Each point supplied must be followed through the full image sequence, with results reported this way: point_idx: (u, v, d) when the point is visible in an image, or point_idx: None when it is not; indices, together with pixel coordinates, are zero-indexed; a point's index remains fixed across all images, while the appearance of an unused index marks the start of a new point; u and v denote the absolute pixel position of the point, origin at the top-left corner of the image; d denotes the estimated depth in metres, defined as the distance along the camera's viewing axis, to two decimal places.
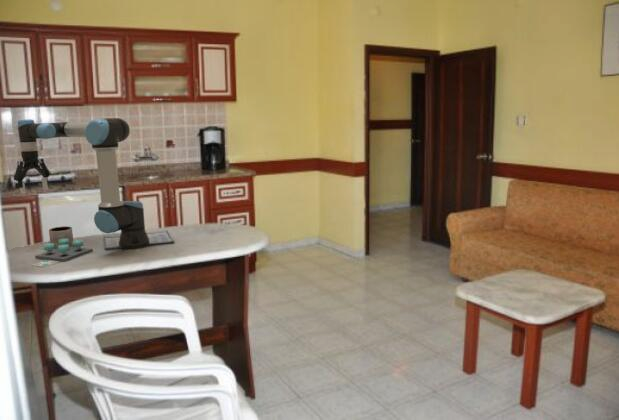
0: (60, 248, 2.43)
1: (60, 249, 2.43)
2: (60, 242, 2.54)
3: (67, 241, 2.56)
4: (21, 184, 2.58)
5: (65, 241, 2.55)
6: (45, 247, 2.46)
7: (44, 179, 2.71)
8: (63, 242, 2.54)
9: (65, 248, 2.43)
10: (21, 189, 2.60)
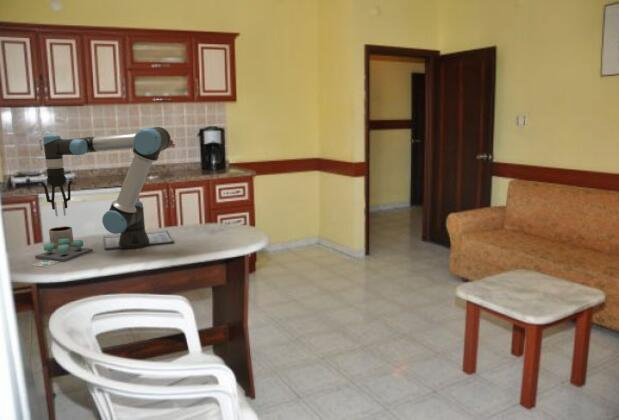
0: (60, 248, 2.43)
1: (60, 249, 2.43)
2: (60, 242, 2.54)
3: (67, 241, 2.56)
4: (53, 206, 2.51)
5: (65, 241, 2.55)
6: (45, 247, 2.46)
7: None
8: (63, 242, 2.54)
9: (65, 248, 2.43)
10: (55, 211, 2.53)
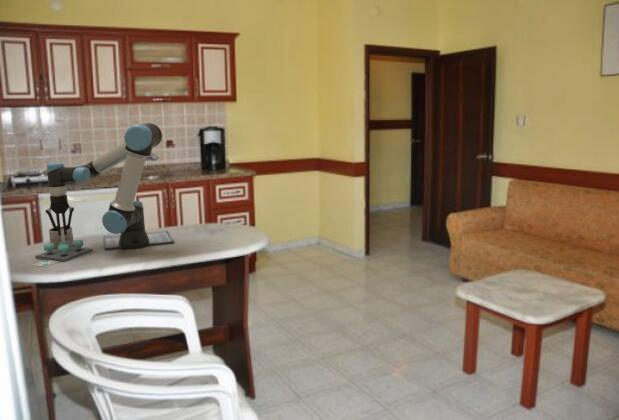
0: (60, 248, 2.43)
1: (60, 249, 2.43)
2: None
3: (67, 244, 2.56)
4: (59, 232, 2.54)
5: None
6: (45, 247, 2.46)
7: None
8: None
9: (65, 248, 2.43)
10: (61, 237, 2.56)
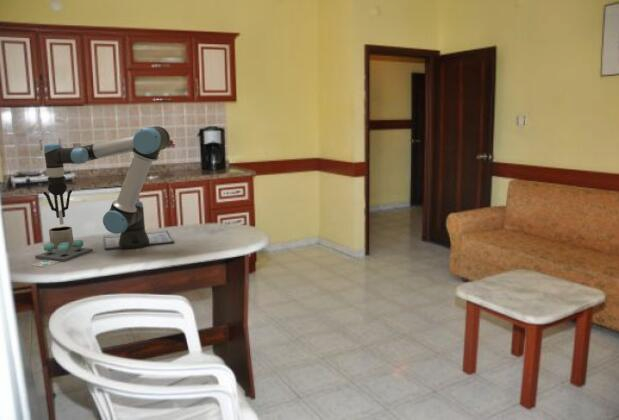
0: (60, 248, 2.43)
1: (60, 249, 2.43)
2: None
3: None
4: (57, 214, 2.52)
5: None
6: (45, 247, 2.46)
7: None
8: None
9: (65, 248, 2.43)
10: None
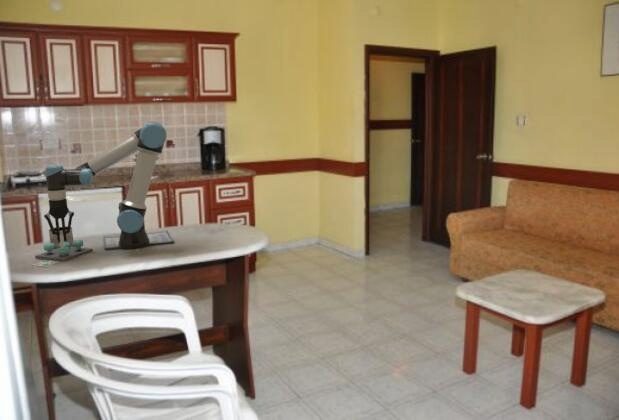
0: (60, 251, 2.43)
1: (60, 252, 2.43)
2: (60, 246, 2.55)
3: (67, 245, 2.56)
4: (58, 238, 2.43)
5: (65, 245, 2.55)
6: (45, 247, 2.46)
7: None
8: None
9: (65, 251, 2.44)
10: None
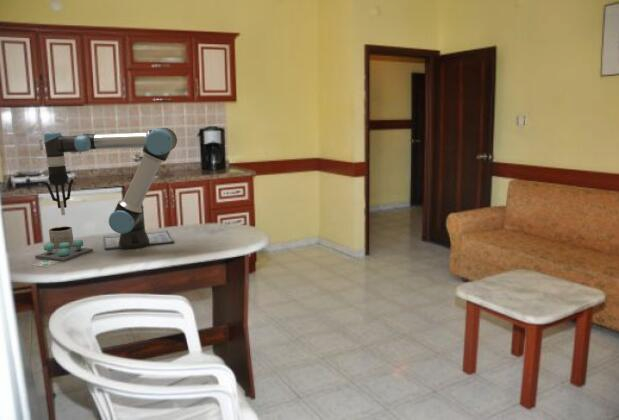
0: (60, 252, 2.43)
1: (60, 253, 2.43)
2: (60, 246, 2.55)
3: (67, 245, 2.56)
4: (59, 204, 2.46)
5: (65, 245, 2.55)
6: (45, 247, 2.46)
7: None
8: (63, 246, 2.55)
9: (65, 252, 2.44)
10: (61, 209, 2.48)
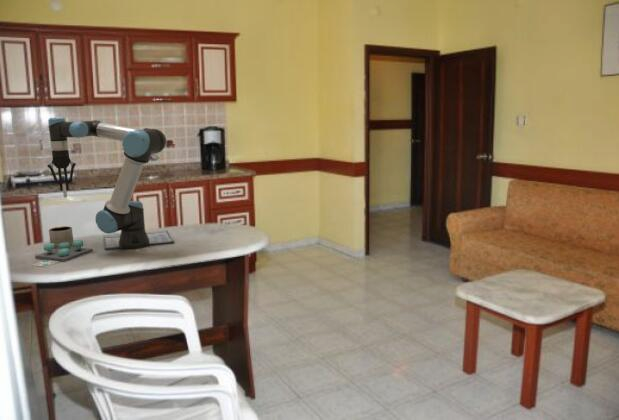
0: (60, 252, 2.43)
1: (60, 253, 2.43)
2: (60, 246, 2.55)
3: (67, 245, 2.56)
4: (61, 187, 2.57)
5: (65, 245, 2.55)
6: (45, 247, 2.46)
7: None
8: (63, 246, 2.55)
9: (65, 252, 2.44)
10: (63, 192, 2.58)
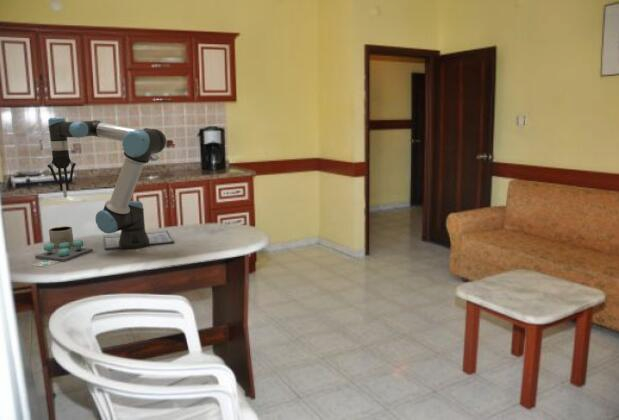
0: (60, 252, 2.43)
1: (60, 253, 2.43)
2: (60, 246, 2.55)
3: (67, 245, 2.56)
4: (61, 187, 2.57)
5: (65, 245, 2.55)
6: (45, 247, 2.46)
7: None
8: (63, 246, 2.55)
9: (65, 252, 2.44)
10: (63, 192, 2.58)
